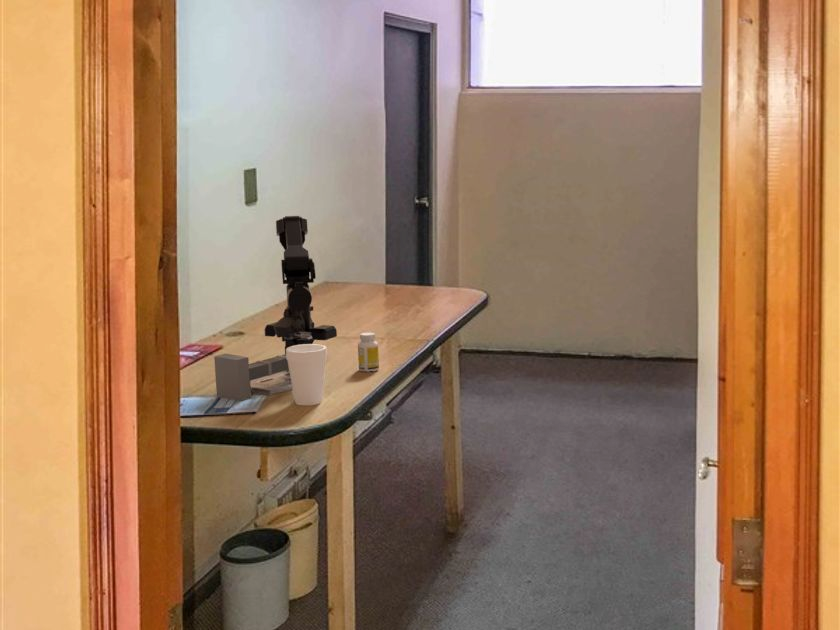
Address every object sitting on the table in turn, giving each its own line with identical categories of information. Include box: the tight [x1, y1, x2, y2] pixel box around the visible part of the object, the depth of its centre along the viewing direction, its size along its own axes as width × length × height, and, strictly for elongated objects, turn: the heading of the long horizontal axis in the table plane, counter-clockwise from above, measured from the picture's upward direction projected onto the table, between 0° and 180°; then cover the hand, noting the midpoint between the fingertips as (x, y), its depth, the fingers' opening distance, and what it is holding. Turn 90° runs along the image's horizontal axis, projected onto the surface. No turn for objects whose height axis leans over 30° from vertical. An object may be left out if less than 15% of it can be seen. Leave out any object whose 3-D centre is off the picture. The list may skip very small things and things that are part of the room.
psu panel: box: [250, 370, 293, 396], centre depth 265 cm, size 18×13×2 cm
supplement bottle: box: [357, 332, 380, 373], centre depth 277 cm, size 5×5×10 cm
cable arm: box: [249, 353, 289, 394], centre depth 263 cm, size 22×4×7 cm, turn 143°
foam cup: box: [286, 343, 328, 406], centre depth 246 cm, size 10×9×13 cm
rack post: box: [213, 353, 252, 402], centre depth 252 cm, size 4×8×10 cm, turn 53°
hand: (302, 364), depth 267 cm, fingers closed
